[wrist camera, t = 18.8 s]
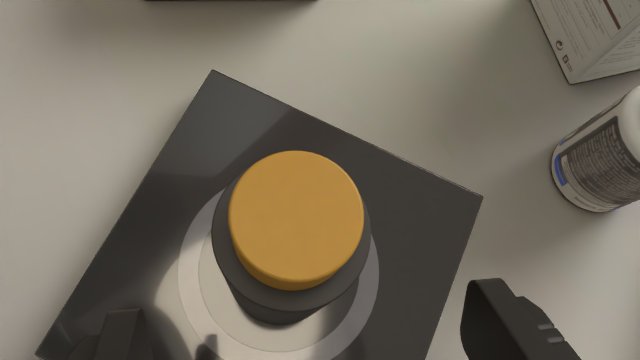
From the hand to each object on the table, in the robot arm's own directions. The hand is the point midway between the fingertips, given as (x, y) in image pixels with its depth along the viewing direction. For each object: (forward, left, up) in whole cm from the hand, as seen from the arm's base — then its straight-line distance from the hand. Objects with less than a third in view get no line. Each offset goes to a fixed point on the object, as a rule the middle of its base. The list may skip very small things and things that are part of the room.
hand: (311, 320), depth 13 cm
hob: (+1, +3, -12) cm, 12 cm away
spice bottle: (+1, +3, -10) cm, 10 cm away
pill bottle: (+19, +1, -12) cm, 22 cm away
